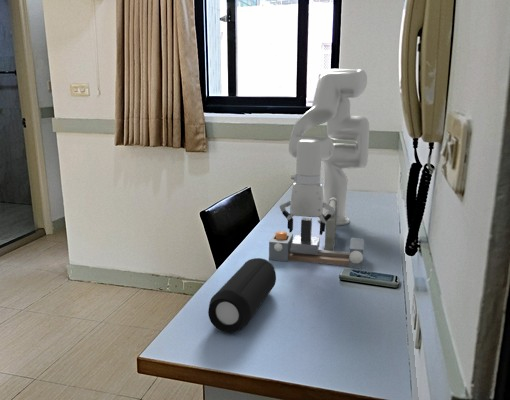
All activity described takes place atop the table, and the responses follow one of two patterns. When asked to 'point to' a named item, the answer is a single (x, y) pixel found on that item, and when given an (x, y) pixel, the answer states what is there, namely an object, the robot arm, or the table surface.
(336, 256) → the rail base
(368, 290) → the table surface
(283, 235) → the button
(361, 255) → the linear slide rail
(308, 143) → the robot arm
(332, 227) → the geiger counter
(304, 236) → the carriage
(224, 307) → the portable speaker
